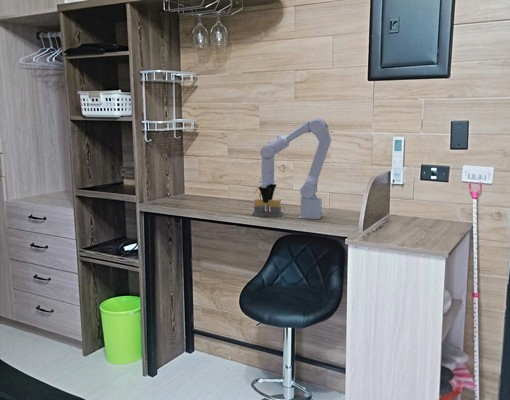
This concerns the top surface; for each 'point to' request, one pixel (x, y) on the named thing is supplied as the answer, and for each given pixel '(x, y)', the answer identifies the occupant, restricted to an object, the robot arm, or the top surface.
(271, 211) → the display stand
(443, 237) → the top surface
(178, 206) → the top surface
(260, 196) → the figurine
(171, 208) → the top surface
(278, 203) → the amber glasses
